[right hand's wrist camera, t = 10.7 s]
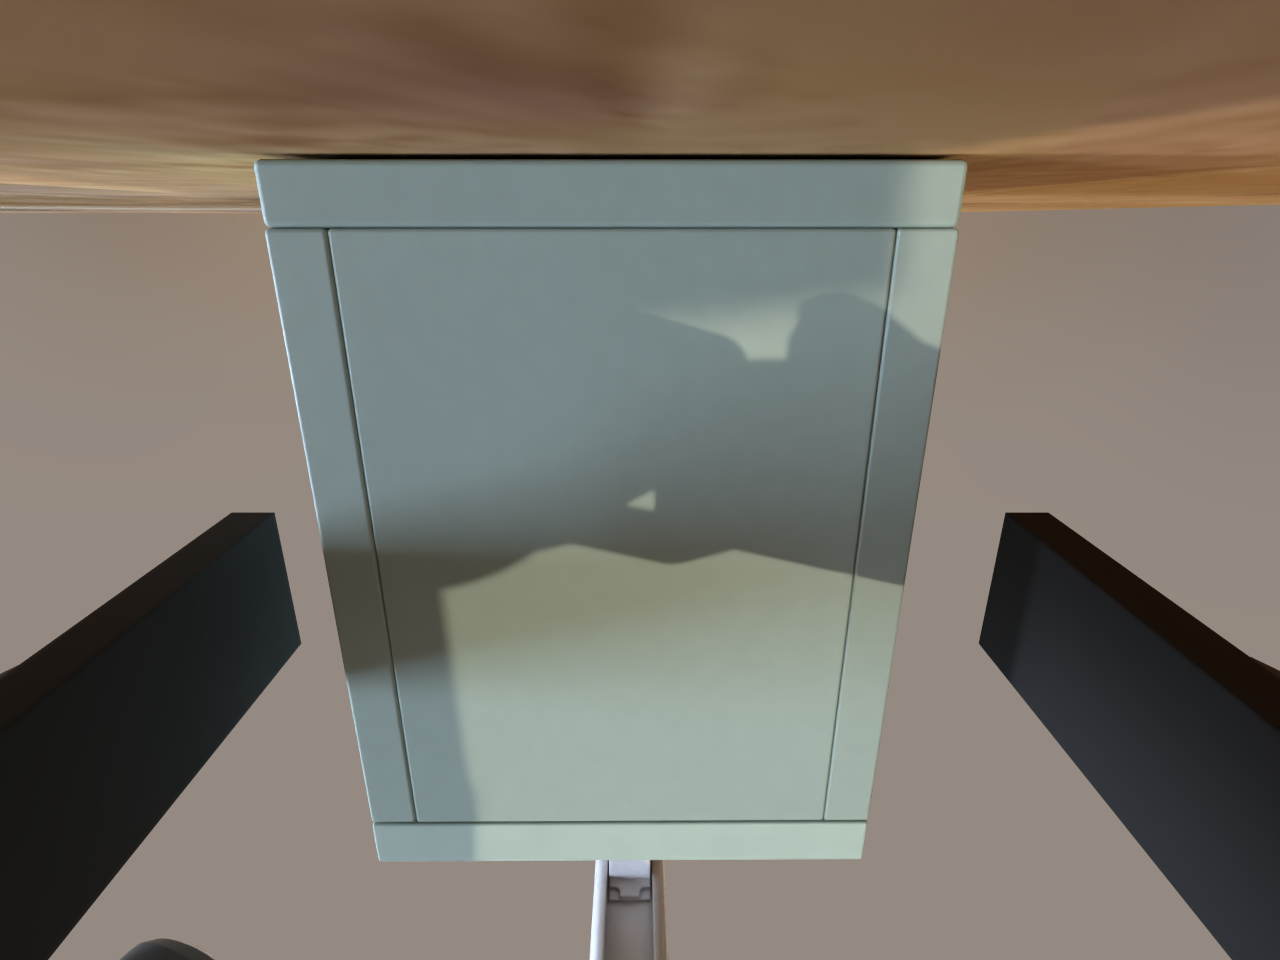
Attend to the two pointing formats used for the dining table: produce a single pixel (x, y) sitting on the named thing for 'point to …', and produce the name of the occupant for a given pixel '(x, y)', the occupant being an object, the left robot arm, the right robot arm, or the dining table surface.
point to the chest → (614, 469)
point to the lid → (619, 840)
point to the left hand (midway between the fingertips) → (628, 903)
